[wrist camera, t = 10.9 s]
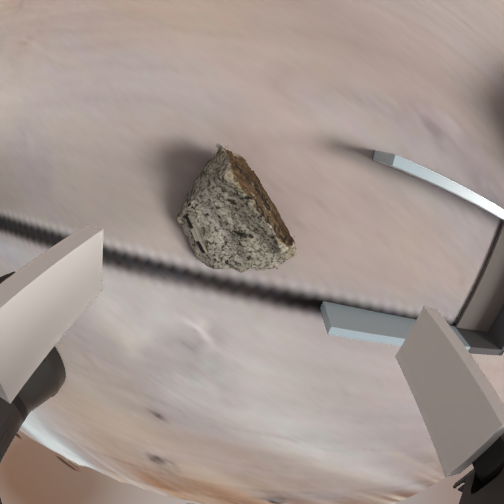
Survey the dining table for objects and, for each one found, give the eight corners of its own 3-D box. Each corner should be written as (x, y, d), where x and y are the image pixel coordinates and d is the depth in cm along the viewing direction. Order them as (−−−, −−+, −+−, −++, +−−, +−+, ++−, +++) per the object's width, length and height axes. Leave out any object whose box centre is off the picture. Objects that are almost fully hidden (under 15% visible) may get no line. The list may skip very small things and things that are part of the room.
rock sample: (123, 230, 21) (190, 233, 15) (175, 151, 23) (254, 127, 17) (213, 293, 27) (291, 314, 21) (248, 223, 30) (325, 225, 24)
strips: (320, 308, 27) (327, 334, 23) (375, 150, 21) (395, 154, 18) (451, 331, 28) (466, 352, 24) (504, 213, 22) (528, 225, 19)
